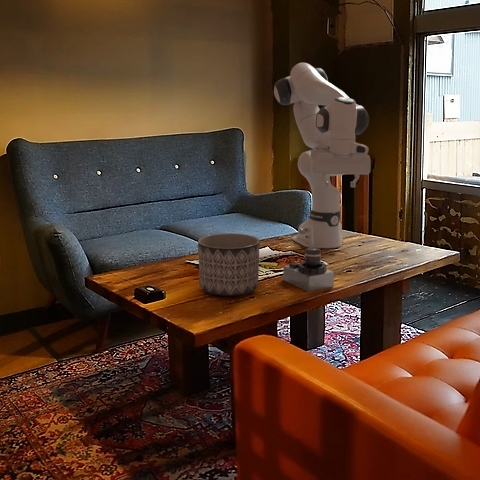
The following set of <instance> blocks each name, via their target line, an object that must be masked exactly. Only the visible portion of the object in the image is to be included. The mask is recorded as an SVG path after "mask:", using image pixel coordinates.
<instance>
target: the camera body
mask: <svg viewBox="0 0 480 480" xmlns="http://www.w3.org/2000/svg"><path fill="white" fill-rule="evenodd" d="M282 278H283V281H285V282H286V283H288V284H291V285H293V286H295V287H297V288H300V289H302V290H304V291H305V292H307V293H310V292H316V291H319V290H325V289H328V288H329V289H330V288H333V287H334V284H335V283H334V282H335V271H334V270H330V269H328V268H327V264H326V263H324V262H321V265H320V267H319V268H308V267H305V261H301V262H295V261H294V262H288V264H287V265H283V277H282Z"/></svg>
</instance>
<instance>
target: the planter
mask: <svg viewBox="0 0 480 480" xmlns="http://www.w3.org/2000/svg"><path fill="white" fill-rule="evenodd" d="M260 242H261V240H260V239H259V238H258V237H256V236H254V235H249V234H244V233H235V232H234V233H232V232H231V233H225V232H224V233H214V234H209V235H204V236H202V237H200V238H199V239H198V240H197V249H198V252H197V253H198V254H197V255H198V270H199V273H198V274H199V287H200V289H201V290H202V291H204V292H205V293H208V294H211V295H217V296H222V297H223V296H224V297H236V296H240V295H241V296H242V295H246V294H249V293H252V292H254V291H256V290H257V289H258V288H259V274H260V273H259V271H260V245H261V244H260Z"/></svg>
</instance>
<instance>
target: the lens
mask: <svg viewBox="0 0 480 480" xmlns="http://www.w3.org/2000/svg"><path fill="white" fill-rule="evenodd" d="M321 251H322V248H316V247H306V248H305V249H304V262H305V267H308V268H319V267H320V265H321V261H322V260H321V256H322V252H321Z"/></svg>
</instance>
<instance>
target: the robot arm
mask: <svg viewBox="0 0 480 480" xmlns="http://www.w3.org/2000/svg"><path fill="white" fill-rule="evenodd" d="M328 79H329V78H328V76H327V74H326V72H325V70H324V69H322V68H321V67H314V66H312V65H311V64H309V63H307V62H299V63H297V64H295V65H294V66H293V67H292V68H291V71H290V74H289V76H286V77H283V78H280V79H279V80H277V81H276V82H275V83H274V86H273V87H274V89H273V94H274V97H275V100H276V101H277V102H278V103H279V104H280V105H281V106H289V105H291V104H293V106H292V107H293V109H292V110H293V114H294V120H295V122H296V126H297V128H298V130H299V134H300V135H301V138H302V140H303V143H304V144H305V146H307V147H308V148H311V149H310V150H306V151H304V152H302V153H301V154H300V155H299V156H298V159H297V168H298V170H299V172H300V175H302V177H304V178H305V179H306V180H307V182H308V183H309V186H310V189H311V204H312V205H311V210H308V214H309V216H308V219H306V220H304V221H303V222H302V223H301V224H300V225H299V226H298V230H297V235H294V236H292V237H291V240H293V241H294V242H296V243H298V244H300V245H302V246H304V247H305V248H310V247H316V248H319V249H336V248H339V247H341V246H343V242H344V239H343V237H342V223H341V222H340V221H341V216H342V213H341V210H340V207H341V205H340V203H341V193H340V190H339V189H338V188H337V187H336V186H334V185H333V184H332V182H331V177H335V176H343V175H353V176H354V179H353V181H350V188H356V186H357V182H358V180H359V179H360V176H361V175H369V174H370V173H371V170H372V169H371V168H372V167H371V163H372V162H371V157H370V154H368V153H369V146H367V145H365V144H362V143H360V142H356V135H357V136H359V135H361V134H362V133H363V132H365V131H366V129H367V128H368V126H369V122H370V116H369V114H368V111H367V110H366V108H365V107H364V106H362V105H361V104H360V105H359V104H357V103H356V100H355V99H353V98H350V97H349V96H348V95H347V94H346V93H345V91H343V90H342V89H340V88H339V87H338V86H336V85H334V84H332V83H331V82H329V80H328ZM319 106H322V107H321V108H320V107H319Z"/></svg>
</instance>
